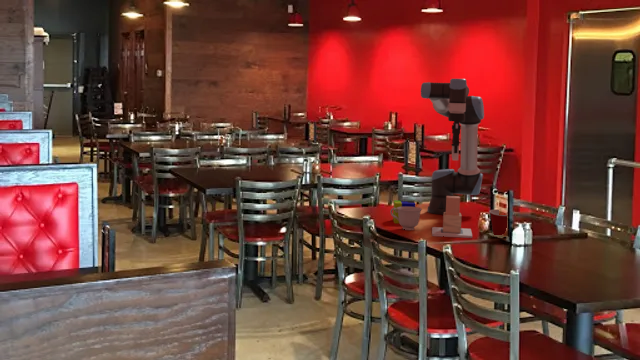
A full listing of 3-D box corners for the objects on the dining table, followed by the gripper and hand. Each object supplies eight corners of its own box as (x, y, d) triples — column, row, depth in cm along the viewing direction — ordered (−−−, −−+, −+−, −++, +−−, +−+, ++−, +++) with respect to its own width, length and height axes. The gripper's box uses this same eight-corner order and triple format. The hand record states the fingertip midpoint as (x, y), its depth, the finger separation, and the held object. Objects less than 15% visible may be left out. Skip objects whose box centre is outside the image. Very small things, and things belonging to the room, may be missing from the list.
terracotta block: (445, 212, 379) (446, 195, 378) (458, 213, 378) (459, 196, 377) (446, 214, 373) (446, 197, 372) (459, 215, 372) (460, 198, 371)
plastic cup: (496, 240, 363) (497, 213, 361) (483, 235, 373) (484, 209, 371) (517, 239, 366) (518, 212, 365) (504, 234, 376) (505, 209, 375)
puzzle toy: (414, 223, 401) (415, 203, 399) (394, 223, 401) (395, 203, 400) (412, 220, 410) (413, 200, 409) (393, 219, 411) (393, 200, 409)
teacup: (391, 225, 393) (392, 205, 391) (422, 227, 390) (423, 207, 388) (388, 230, 381) (389, 209, 380) (420, 232, 378) (420, 210, 377)
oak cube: (442, 229, 381) (443, 212, 380) (460, 229, 380) (460, 213, 379) (443, 232, 373) (443, 214, 372) (460, 232, 372) (461, 215, 371)
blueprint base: (432, 229, 387) (432, 226, 387) (470, 230, 384) (470, 228, 384) (432, 235, 369) (432, 233, 369) (472, 237, 367) (472, 235, 366)
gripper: (448, 111, 383) (446, 156, 385) (449, 113, 358) (447, 161, 361) (464, 111, 382) (462, 156, 384) (466, 113, 357) (464, 161, 360)
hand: (454, 159), depth 373 cm, fingers open, 13 cm apart
